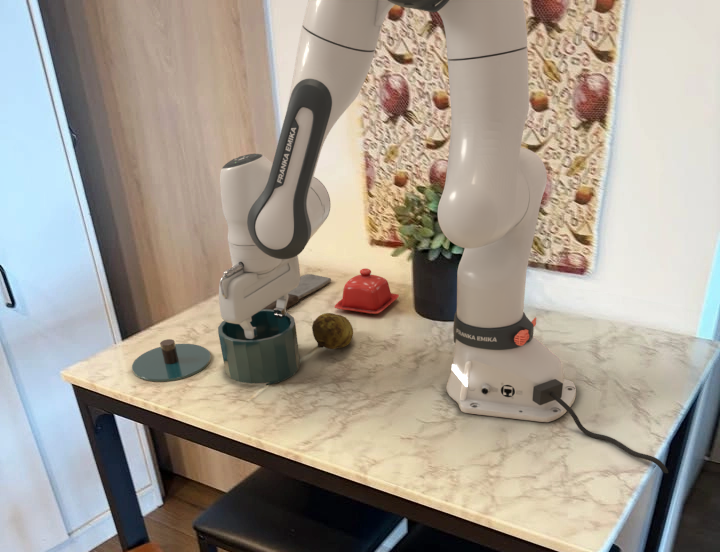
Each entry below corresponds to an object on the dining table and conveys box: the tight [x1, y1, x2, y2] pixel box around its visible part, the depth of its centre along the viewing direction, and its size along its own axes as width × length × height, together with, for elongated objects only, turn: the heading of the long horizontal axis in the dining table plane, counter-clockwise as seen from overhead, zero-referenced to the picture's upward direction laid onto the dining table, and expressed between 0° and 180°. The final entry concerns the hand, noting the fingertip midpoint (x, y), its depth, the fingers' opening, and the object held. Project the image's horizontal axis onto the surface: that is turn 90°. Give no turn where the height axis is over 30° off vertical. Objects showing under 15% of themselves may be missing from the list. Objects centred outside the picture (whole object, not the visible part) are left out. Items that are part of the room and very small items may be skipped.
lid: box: [131, 338, 212, 383], centre depth 148 cm, size 15×15×5 cm
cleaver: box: [262, 273, 332, 310], centre depth 173 cm, size 30×10×2 cm, turn 147°
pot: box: [217, 309, 301, 386], centre depth 144 cm, size 14×15×9 cm
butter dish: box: [334, 268, 400, 315], centre depth 165 cm, size 12×12×8 cm
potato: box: [311, 312, 354, 350], centre depth 150 cm, size 8×13×8 cm, turn 149°
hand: (266, 327), depth 141 cm, fingers open, 8 cm apart
